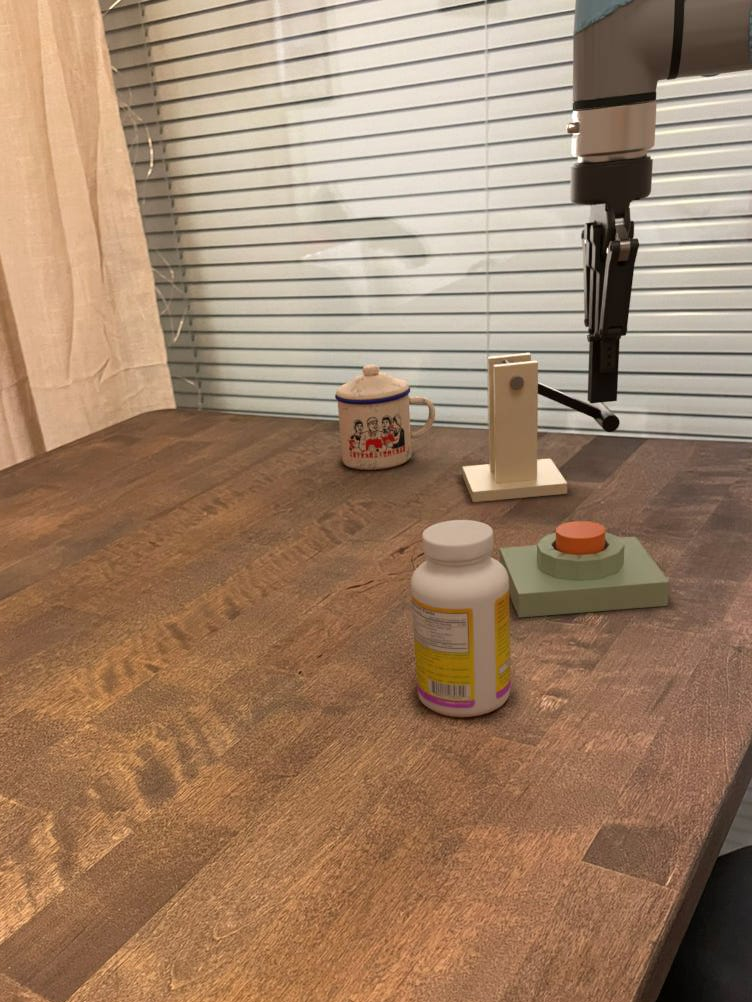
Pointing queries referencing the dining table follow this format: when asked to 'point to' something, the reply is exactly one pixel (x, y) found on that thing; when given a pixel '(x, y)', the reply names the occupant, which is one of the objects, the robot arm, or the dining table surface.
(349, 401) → the teacup with lid
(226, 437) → the dining table surface
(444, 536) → the supplement bottle
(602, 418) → the black lever
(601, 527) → the button
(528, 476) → the lever stand
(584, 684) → the dining table surface
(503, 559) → the button box
